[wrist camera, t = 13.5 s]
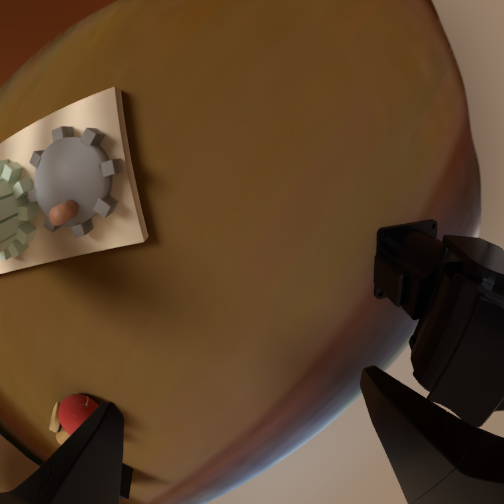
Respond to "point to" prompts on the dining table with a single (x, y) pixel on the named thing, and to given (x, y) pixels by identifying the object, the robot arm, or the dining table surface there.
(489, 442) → the robot arm
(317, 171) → the dining table surface
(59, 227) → the gear board
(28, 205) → the gear sleeve
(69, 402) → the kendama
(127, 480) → the digital camera
